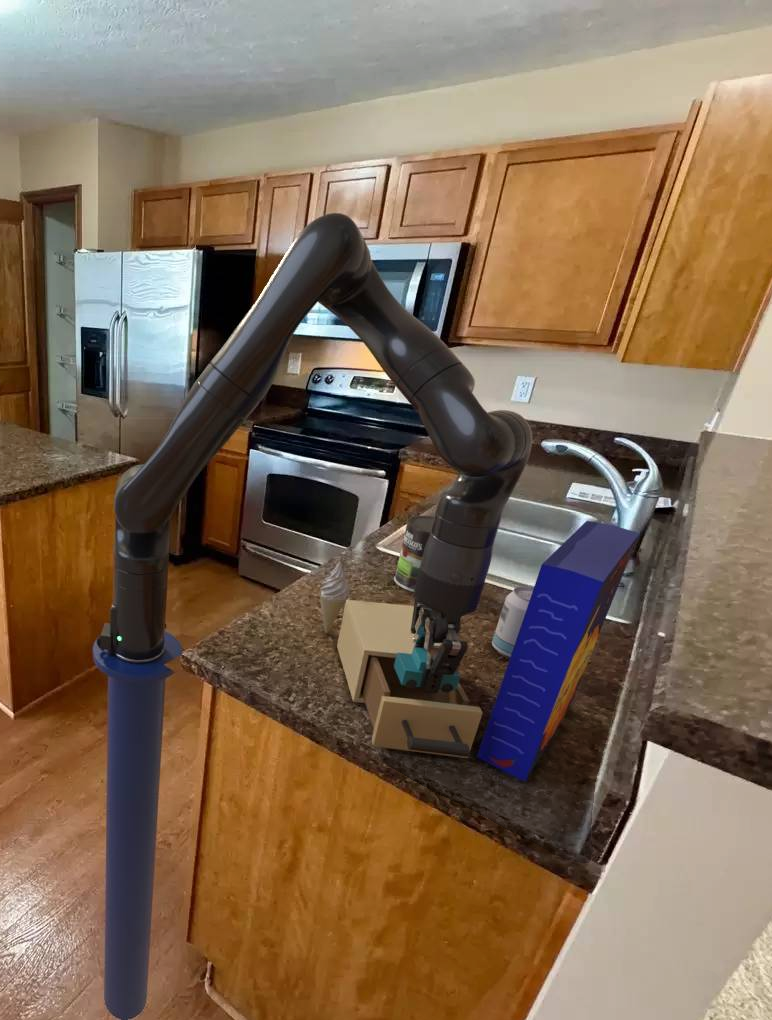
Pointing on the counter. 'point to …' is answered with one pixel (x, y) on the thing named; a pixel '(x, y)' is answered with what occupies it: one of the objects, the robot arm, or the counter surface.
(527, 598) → the beverage can
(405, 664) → the toy car
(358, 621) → the cabinet
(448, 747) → the drawer
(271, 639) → the counter surface
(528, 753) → the cereal box
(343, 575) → the ice cream cone
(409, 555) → the coffee can
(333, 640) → the counter surface
